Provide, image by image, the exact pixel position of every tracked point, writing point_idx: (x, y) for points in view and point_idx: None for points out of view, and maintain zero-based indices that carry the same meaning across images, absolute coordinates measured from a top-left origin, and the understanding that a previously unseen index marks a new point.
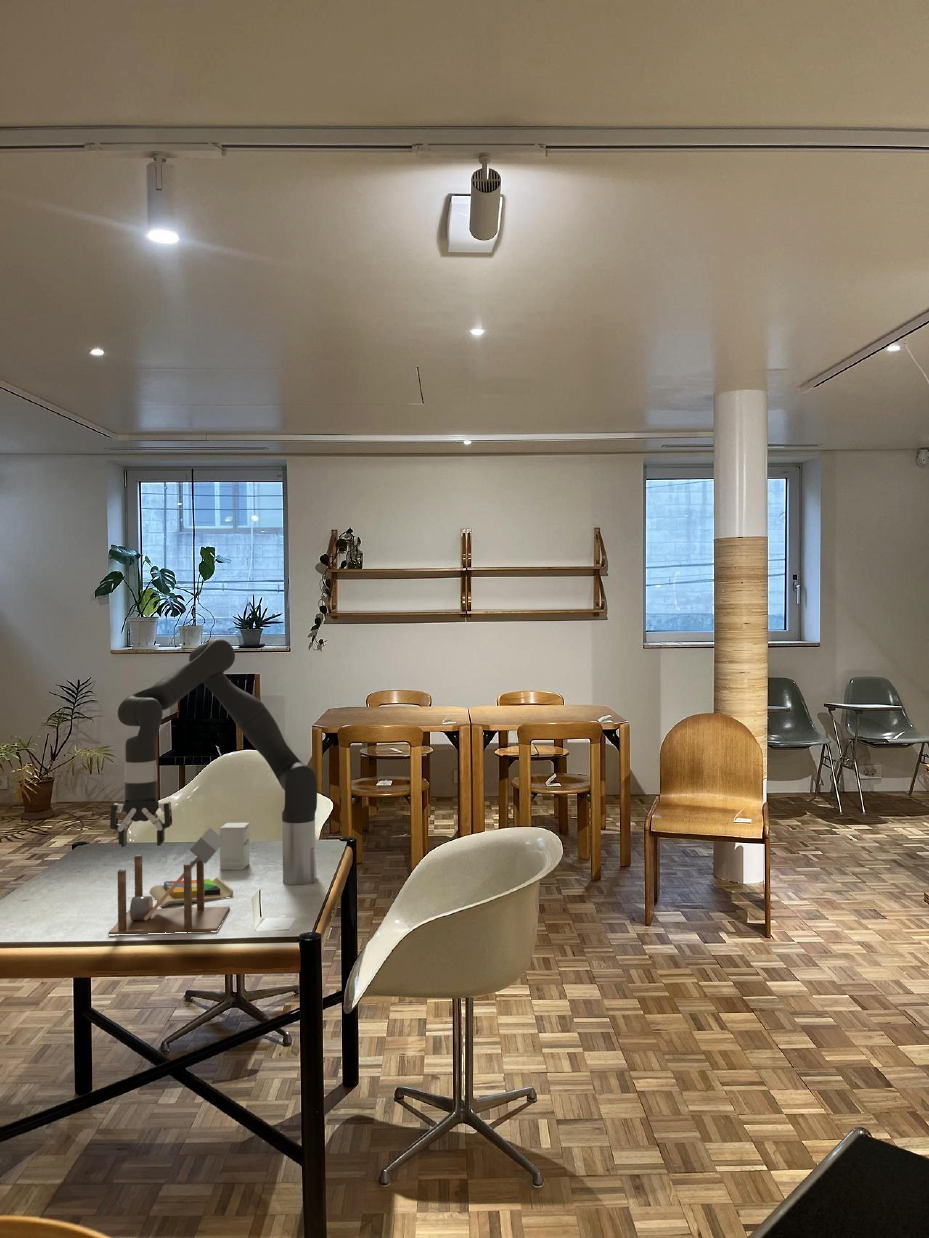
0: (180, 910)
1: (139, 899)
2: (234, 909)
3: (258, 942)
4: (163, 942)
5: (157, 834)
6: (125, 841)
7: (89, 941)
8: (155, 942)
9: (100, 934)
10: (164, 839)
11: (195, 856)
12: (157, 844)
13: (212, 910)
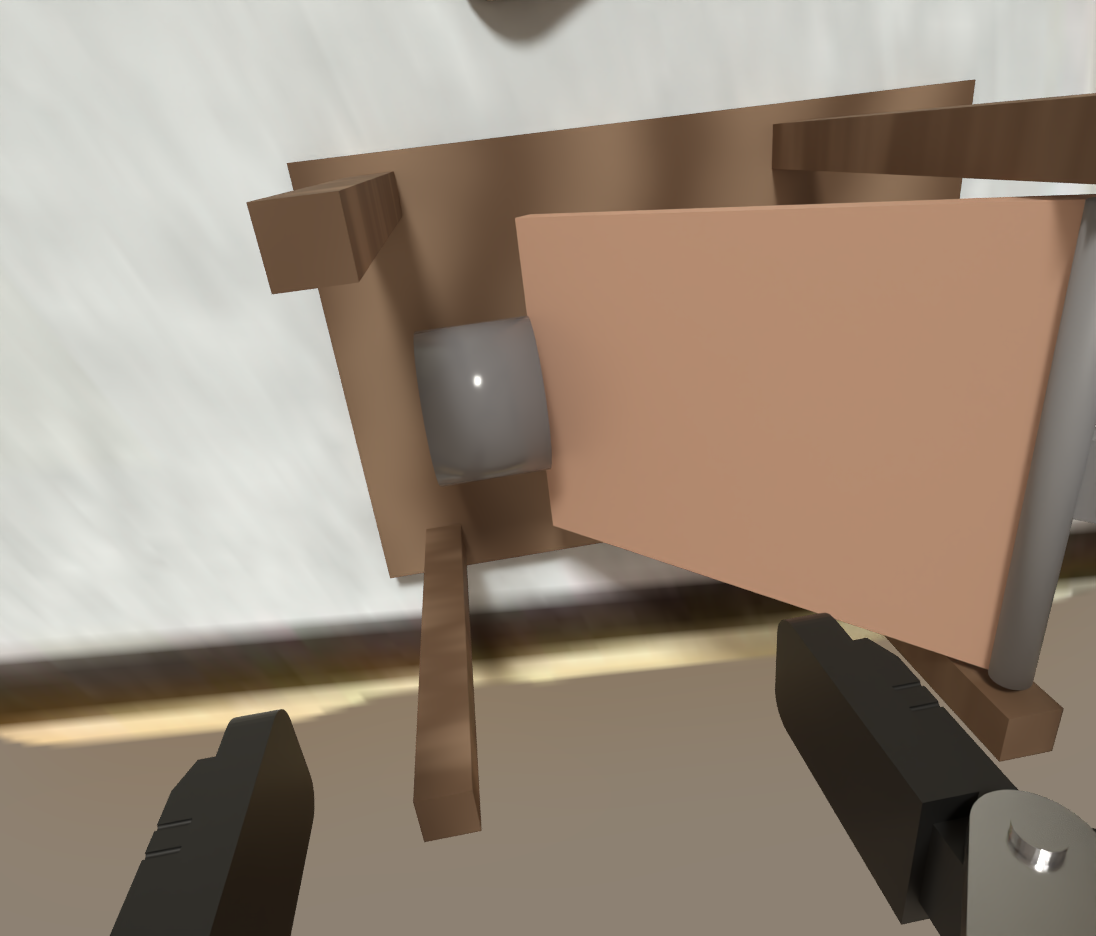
0: (664, 178)
1: (489, 461)
2: (985, 57)
3: (1078, 578)
4: (689, 611)
5: (872, 857)
6: (281, 794)
7: (331, 629)
8: (653, 614)
9: (328, 540)
10: (899, 663)
11: (1090, 387)
12: (790, 724)
13: (871, 178)
